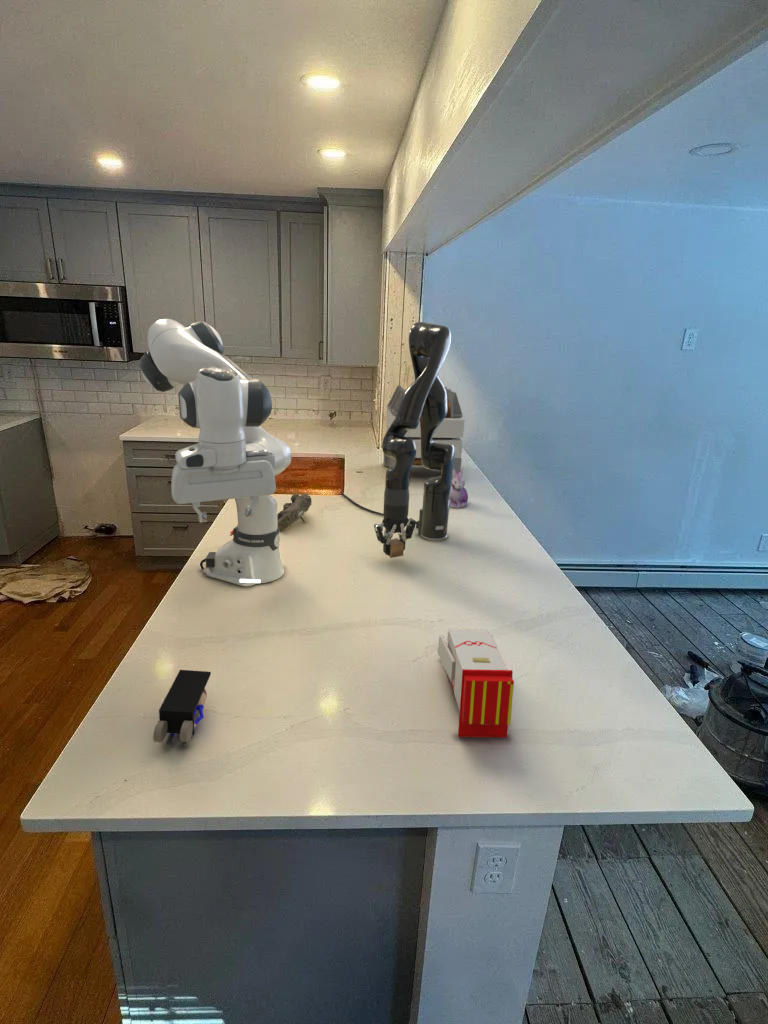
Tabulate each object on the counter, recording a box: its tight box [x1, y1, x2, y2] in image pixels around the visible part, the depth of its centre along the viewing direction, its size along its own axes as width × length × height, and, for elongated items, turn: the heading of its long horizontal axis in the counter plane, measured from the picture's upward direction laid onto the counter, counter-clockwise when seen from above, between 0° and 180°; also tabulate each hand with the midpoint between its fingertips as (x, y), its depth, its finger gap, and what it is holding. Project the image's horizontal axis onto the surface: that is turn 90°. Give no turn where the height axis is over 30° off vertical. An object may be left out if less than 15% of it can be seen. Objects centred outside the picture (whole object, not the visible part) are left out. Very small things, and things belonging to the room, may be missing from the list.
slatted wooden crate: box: [383, 384, 465, 479], centre depth 268 cm, size 34×33×41 cm
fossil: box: [277, 493, 313, 531], centre depth 205 cm, size 22×10×15 cm
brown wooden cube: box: [387, 537, 405, 559], centre depth 176 cm, size 4×4×4 cm
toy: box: [437, 628, 515, 738], centre depth 117 cm, size 12×13×30 cm
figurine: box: [449, 468, 469, 509], centre depth 230 cm, size 9×10×15 cm
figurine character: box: [152, 669, 212, 747], centre depth 104 cm, size 7×8×15 cm
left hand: (226, 518), depth 116 cm, fingers open, 8 cm apart
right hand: (393, 552), depth 176 cm, fingers closed on brown wooden cube, 4 cm apart
